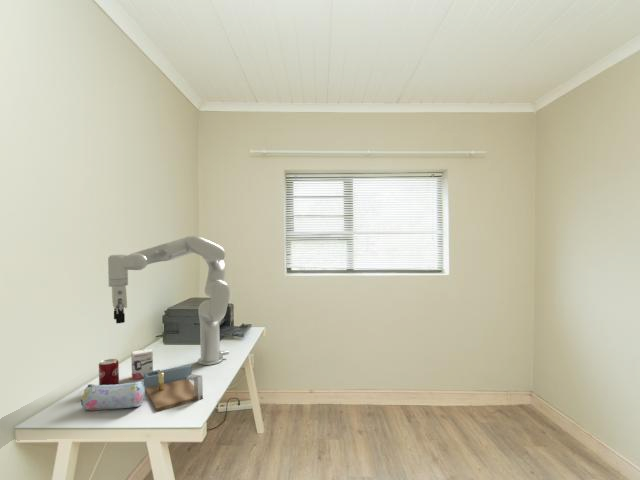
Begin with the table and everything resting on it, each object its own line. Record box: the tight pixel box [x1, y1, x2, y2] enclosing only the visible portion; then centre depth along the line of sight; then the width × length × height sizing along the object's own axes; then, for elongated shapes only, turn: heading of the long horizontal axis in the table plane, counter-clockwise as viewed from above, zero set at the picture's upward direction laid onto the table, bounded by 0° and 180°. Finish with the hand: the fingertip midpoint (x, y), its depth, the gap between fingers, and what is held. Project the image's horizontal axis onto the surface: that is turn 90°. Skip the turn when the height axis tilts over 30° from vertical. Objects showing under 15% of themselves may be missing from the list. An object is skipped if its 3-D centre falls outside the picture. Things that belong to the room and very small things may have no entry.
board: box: [145, 378, 204, 413], centre depth 144 cm, size 17×22×1 cm
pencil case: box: [80, 381, 146, 411], centre depth 135 cm, size 21×9×10 cm, turn 92°
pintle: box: [158, 372, 164, 391], centre depth 146 cm, size 2×2×8 cm
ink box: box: [130, 348, 154, 381], centre depth 165 cm, size 8×5×12 cm, turn 123°
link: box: [143, 363, 193, 388], centre depth 158 cm, size 19×6×5 cm, turn 126°
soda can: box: [98, 358, 120, 385], centre depth 151 cm, size 7×7×12 cm
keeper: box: [186, 374, 204, 402], centre depth 141 cm, size 6×3×9 cm, turn 71°
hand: (119, 320), depth 157 cm, fingers open, 9 cm apart
